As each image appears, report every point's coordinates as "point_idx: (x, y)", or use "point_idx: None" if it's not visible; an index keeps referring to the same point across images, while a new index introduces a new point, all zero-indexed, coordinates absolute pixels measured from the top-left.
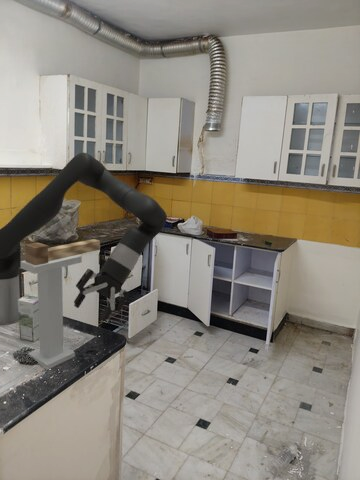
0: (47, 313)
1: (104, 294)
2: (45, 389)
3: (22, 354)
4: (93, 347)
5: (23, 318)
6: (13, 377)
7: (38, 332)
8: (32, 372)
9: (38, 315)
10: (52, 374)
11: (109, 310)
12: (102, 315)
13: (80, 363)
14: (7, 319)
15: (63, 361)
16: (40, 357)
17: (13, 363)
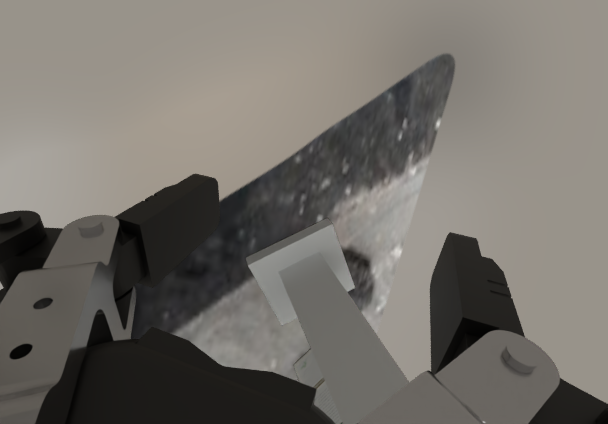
0: (392, 360)
1: (190, 368)
2: (355, 134)
3: (356, 294)
4: (180, 290)
5: None
6: (397, 211)
7: (314, 364)
8: (359, 217)
9: (330, 410)
10: (321, 193)
11: (137, 216)
12: (200, 224)
13: (239, 220)
14: None
15: (281, 241)
16: (336, 262)
17: (382, 264)
